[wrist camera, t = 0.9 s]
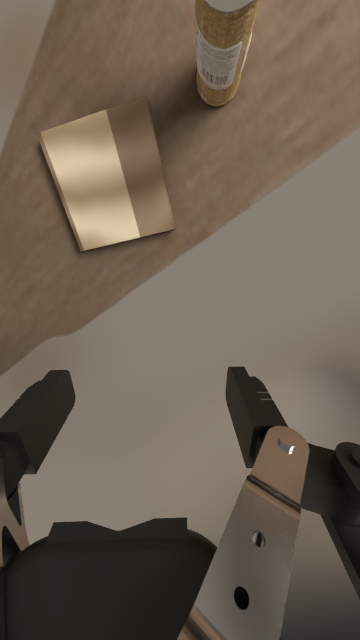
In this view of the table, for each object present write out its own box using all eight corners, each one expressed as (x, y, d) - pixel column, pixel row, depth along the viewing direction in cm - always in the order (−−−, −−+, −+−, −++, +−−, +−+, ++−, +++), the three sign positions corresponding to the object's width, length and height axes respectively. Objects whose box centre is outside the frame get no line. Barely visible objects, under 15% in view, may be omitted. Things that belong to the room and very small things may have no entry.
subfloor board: (45, 138, 26) (36, 133, 24) (149, 103, 24) (145, 95, 22) (86, 250, 31) (80, 251, 29) (175, 228, 29) (174, 229, 27)
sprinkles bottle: (249, 71, 22) (311, -122, 10) (220, 119, 24) (243, 5, 12) (213, 36, 21) (233, -220, 9) (186, 88, 23) (172, -68, 11)
